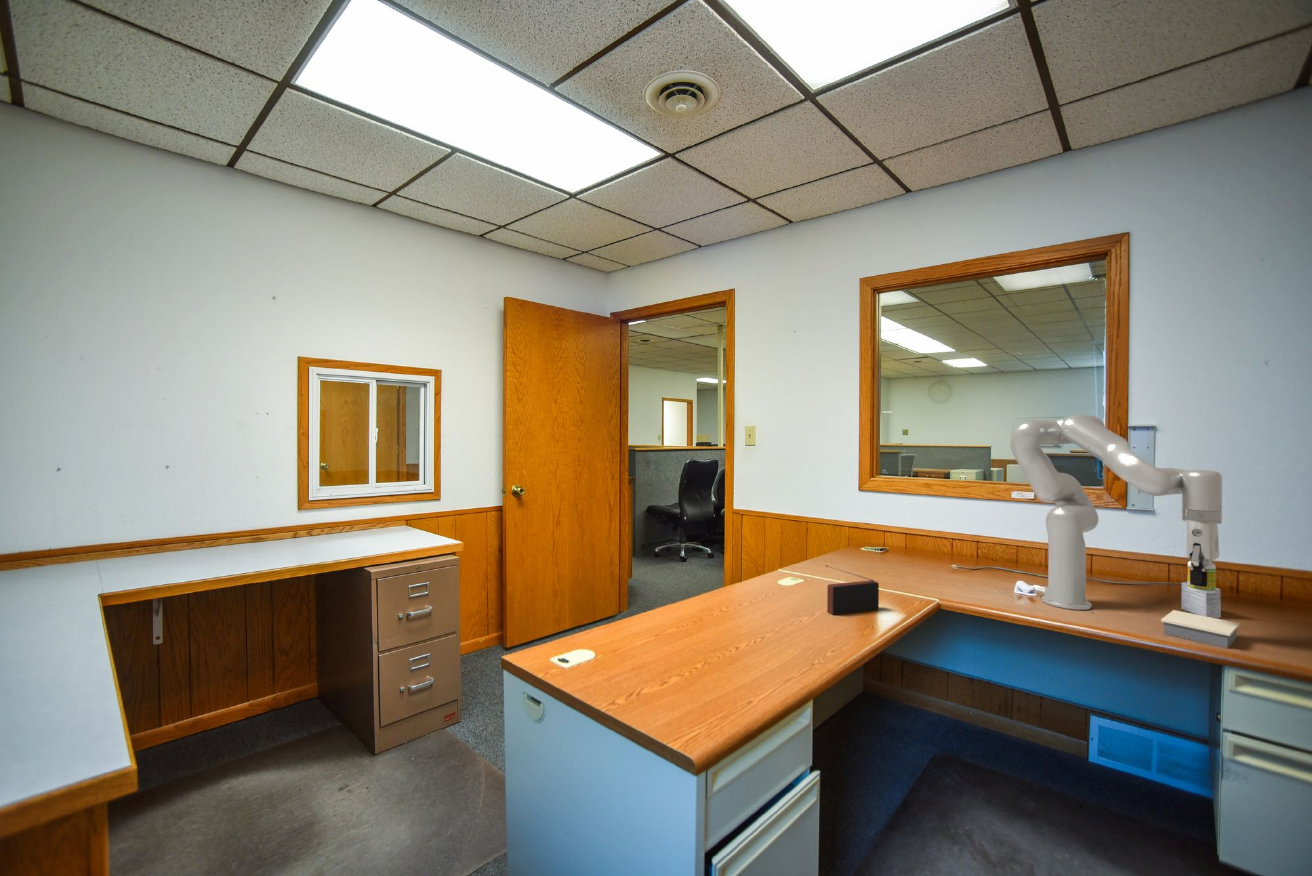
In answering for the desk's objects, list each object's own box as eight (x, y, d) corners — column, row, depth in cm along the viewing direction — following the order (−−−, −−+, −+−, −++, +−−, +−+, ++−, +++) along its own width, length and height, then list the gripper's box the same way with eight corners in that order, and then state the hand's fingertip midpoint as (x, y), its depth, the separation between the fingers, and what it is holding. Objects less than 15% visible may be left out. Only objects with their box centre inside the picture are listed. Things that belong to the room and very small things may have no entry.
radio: (871, 606, 171) (872, 559, 171) (878, 610, 168) (878, 561, 168) (820, 612, 165) (821, 563, 165) (826, 616, 162) (827, 565, 162)
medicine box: (1221, 618, 160) (1221, 589, 160) (1205, 618, 161) (1206, 589, 160) (1195, 609, 168) (1195, 581, 168) (1180, 609, 168) (1181, 581, 168)
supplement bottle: (1210, 594, 143) (1211, 557, 143) (1183, 589, 147) (1183, 553, 147) (1219, 591, 145) (1219, 555, 145) (1192, 586, 150) (1192, 551, 150)
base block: (1160, 633, 148) (1161, 619, 148) (1173, 624, 156) (1173, 610, 156) (1229, 649, 138) (1230, 633, 138) (1239, 638, 145) (1239, 623, 145)
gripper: (1214, 521, 138) (1214, 592, 138) (1228, 515, 148) (1227, 581, 148) (1174, 517, 144) (1174, 586, 144) (1189, 512, 154) (1189, 576, 154)
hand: (1201, 583), depth 146 cm, fingers closed on supplement bottle, 5 cm apart
